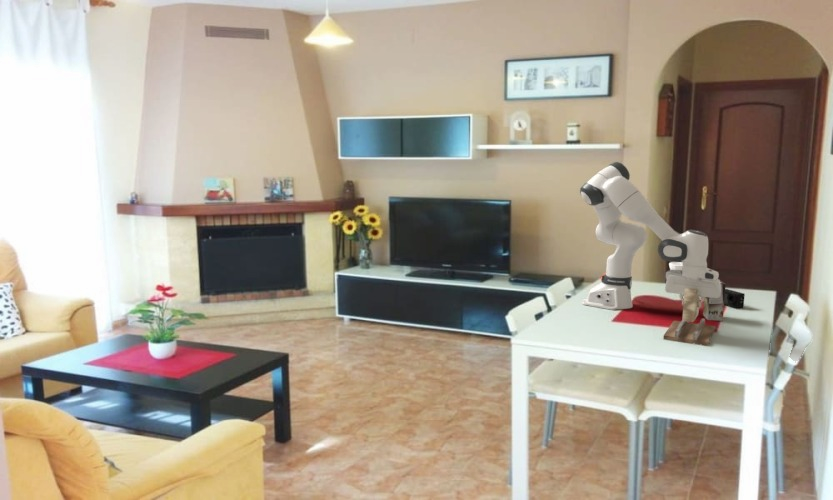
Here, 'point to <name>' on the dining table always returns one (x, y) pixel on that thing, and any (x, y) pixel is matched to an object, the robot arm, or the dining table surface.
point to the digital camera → (734, 299)
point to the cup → (676, 266)
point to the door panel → (690, 305)
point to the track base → (690, 332)
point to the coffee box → (715, 306)
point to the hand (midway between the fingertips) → (691, 306)
